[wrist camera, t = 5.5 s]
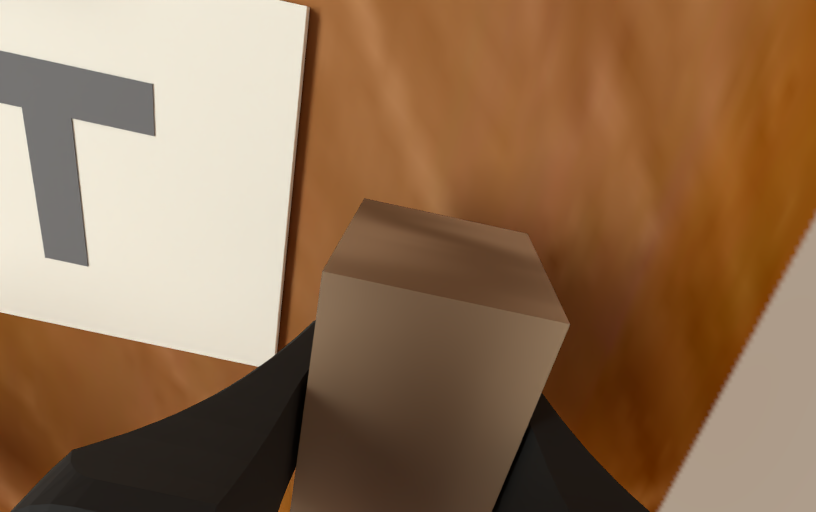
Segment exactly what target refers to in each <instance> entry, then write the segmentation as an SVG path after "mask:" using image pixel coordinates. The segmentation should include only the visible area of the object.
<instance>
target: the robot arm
mask: <svg viewBox="0 0 816 512" xmlns="http://www.w3.org/2000/svg"><path fill="white" fill-rule="evenodd" d="M315 322H316V320H315V321H313V322H312V323H311V324H310V325H309V326H308V327H307V328H306V329H305V330H304V331H303V332H302V333H300V334H299V335H298V336H297V337H296V338H295V339H294V340H292V341H291V342H290V343H289V344H288V345H287V346H285V347H284V348H283V349H282V350H280V351H279V352H278V353H277V354H275V355H274V356H273V357H272V358H270V359H269V360H268V361H266V362H265V363H263V364H262V365H261V366H259V367H258V368H256V369H255V370H253V371H252V372H251V373H249V374H248V375H246V376H245V377H243V378H242V379H240V380H239V381H237V382H235V383H234V384H232V385H231V386H229V387H227V388H225V389H224V390H222V391H220V392H219V393H217V394H215V395H213V396H211V397H209V398H207V399H205V400H204V401H202V402H200V403H198V404H195V405H193V406H191V407H189V408H187V409H185V410H183V411H181V412H179V413H177V414H174V415H172V416H170V417H167V418H165V419H162V420H160V421H158V422H155V423H152V424H150V425H147V426H145V427H142V428H139V429H137V430H134V431H131V432H128V433H125V434H122V435H119V436H116V437H113V438H110V439H107V440H103V441H100V442H97V443H94V444H91V445H88V446H85V447H81V448H77V449H74V450H72V451H71V452H70V453H69V454H68V455H67V456H66V457H65V458H63V459H62V460H61V461H60V462H59V463H58V464H57V465H55V466H54V467H53V468H52V469H51V470H50V471H49V472H48V473H47V474H46V475H45V476H44V477H43V478H42V479H41V480H40V481H39V482H38V483H37V484H36V485H35V486H34V488H33V489H32V490H31V491H30V492H29V493H28V494H27V495H26V496H25V497H24V498H23V499H22V500H21V501H20V502H19V503H18V504H17V505H16V506H15V507H14V509H13V510H12V511H11V512H278V510H279V507H280V504H281V501H282V499H283V496H284V493H285V491H286V488H287V486H288V484H289V481H290V479H291V477H292V474H293V472H294V470H295V468H296V464H297V457H298V449H299V442H300V434H301V427H302V420H303V412H304V405H305V397H306V390H307V382H308V375H309V367H310V360H311V352H312V345H313V337H314V330H315ZM492 512H649V511H648V510H647V509H646V508H645V507H644V506H643V505H642V504H641V503H639V502H638V501H637V500H636V499H635V498H634V497H633V496H632V495H631V494H629V493H628V492H627V491H626V490H625V489H624V488H623V487H622V486H621V485H620V484H619V483H618V482H617V481H616V480H615V479H614V478H613V477H612V476H611V475H610V474H609V473H608V472H607V471H606V470H605V469H604V468H603V467H602V466H601V465H600V464H599V463H598V462H597V461H596V459H595V458H594V457H593V456H592V455H591V454H590V453H589V452H588V451H587V450H586V448H585V447H584V446H583V445H582V444H581V442H580V441H579V440H578V439H577V438H576V437H575V435H574V434H573V433H572V432H571V431H570V429H569V428H568V427H567V426H566V424H565V423H564V422H563V421H562V419H561V418H560V417H559V415H558V414H557V413H556V411H555V410H554V409H553V407H552V406H551V405H550V403H549V402H548V401H547V399H546V398H545V396H544V395H543V394H542V393H541V395H540V397H539V400H538V402H537V405H536V407H535V409H534V412H533V414H532V417H531V419H530V421H529V424H528V426H527V428H526V431H525V433H524V436H523V438H522V440H521V443H520V445H519V448H518V450H517V452H516V455H515V457H514V460H513V462H512V464H511V467H510V469H509V472H508V474H507V476H506V479H505V481H504V484H503V486H502V488H501V491H500V493H499V495H498V498H497V500H496V503H495V505H494V507H493V510H492Z"/></svg>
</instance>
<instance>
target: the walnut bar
mask: <svg viewBox="0 0 816 512" xmlns="http://www.w3.org/2000/svg"><path fill="white" fill-rule="evenodd" d="M569 326H570V323H569V321H568V319H567V317H566V315H565V312H564V310H563V308H562V306H561V304H560V302H559V300H558V298H557V295H556V293H555V291H554V289H553V287H552V285H551V283H550V281H549V278H548V276H547V274H546V272H545V270H544V268H543V266H542V264H541V261H540V259H539V257H538V255H537V253H536V251H535V249H534V246H533V244H532V242H531V240H530V238H529V236H528V234H527V233H522V232H517V231H513V230H508V229H504V228H499V227H494V226H490V225H485V224H480V223H476V222H471V221H467V220H462V219H457V218H453V217H448V216H443V215H439V214H434V213H430V212H425V211H420V210H416V209H411V208H406V207H402V206H397V205H393V204H388V203H383V202H379V201H374V200H370V199H365V198H364V200H363V202H362V203H361V205H360V207H359V209H358V210H357V212H356V214H355V216H354V217H353V219H352V221H351V222H350V224H349V226H348V228H347V229H346V231H345V233H344V235H343V236H342V238H341V240H340V242H339V243H338V245H337V247H336V248H335V250H334V252H333V254H332V255H331V257H330V259H329V261H328V262H327V264H326V266H325V268H324V269H323V271H322V278H321V285H320V293H319V300H318V308H317V315H316V322H315V330H314V337H313V345H312V352H311V360H310V367H309V375H308V382H307V390H306V397H305V405H304V412H303V420H302V427H301V434H300V442H299V449H298V457H297V464H296V472H295V479H294V487H293V494H292V502H291V509H290V512H492V510H493V507H494V505H495V503H496V500H497V498H498V495H499V493H500V491H501V488H502V486H503V484H504V481H505V479H506V476H507V474H508V472H509V469H510V467H511V464H512V462H513V460H514V457H515V455H516V452H517V450H518V448H519V445H520V443H521V440H522V438H523V436H524V433H525V431H526V428H527V426H528V424H529V421H530V419H531V417H532V414H533V412H534V409H535V407H536V405H537V402H538V400H539V397H540V395H541V393H542V390H543V388H544V385H545V383H546V381H547V378H548V376H549V373H550V371H551V369H552V366H553V364H554V362H555V359H556V357H557V354H558V352H559V350H560V347H561V345H562V342H563V340H564V338H565V335H566V333H567V330H568V328H569Z"/></svg>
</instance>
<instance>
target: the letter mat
mask: <svg viewBox="0 0 816 512" xmlns="http://www.w3.org/2000/svg"><path fill="white" fill-rule="evenodd" d="M309 12H310V7H307V6H303V5H298V4H294V3H289V2H285V1H280V0H0V312H2V313H6V314H11V315H16V316H21V317H25V318H30V319H35V320H40V321H44V322H49V323H54V324H59V325H63V326H68V327H73V328H78V329H82V330H87V331H92V332H96V333H101V334H106V335H111V336H115V337H120V338H125V339H130V340H134V341H139V342H144V343H149V344H153V345H158V346H163V347H168V348H172V349H177V350H182V351H187V352H191V353H196V354H201V355H205V356H210V357H215V358H220V359H224V360H229V361H234V362H239V363H243V364H248V365H253V366H258V367H259V366H261V365H262V364H263V363H265V362H266V361H268V360H269V359H270V358H272V357H273V356H274V355H275V354H277V347H278V337H279V326H280V316H281V305H282V295H283V284H284V274H285V263H286V253H287V242H288V232H289V222H290V211H291V201H292V190H293V180H294V169H295V159H296V148H297V138H298V127H299V117H300V106H301V96H302V85H303V75H304V64H305V54H306V43H307V33H308V22H309Z"/></svg>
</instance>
